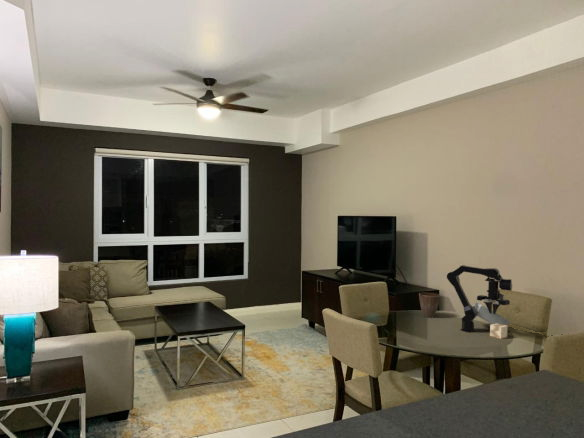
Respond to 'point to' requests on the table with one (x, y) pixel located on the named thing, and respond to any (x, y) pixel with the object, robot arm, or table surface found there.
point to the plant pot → (429, 303)
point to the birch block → (498, 331)
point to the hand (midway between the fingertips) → (492, 313)
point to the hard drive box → (489, 315)
